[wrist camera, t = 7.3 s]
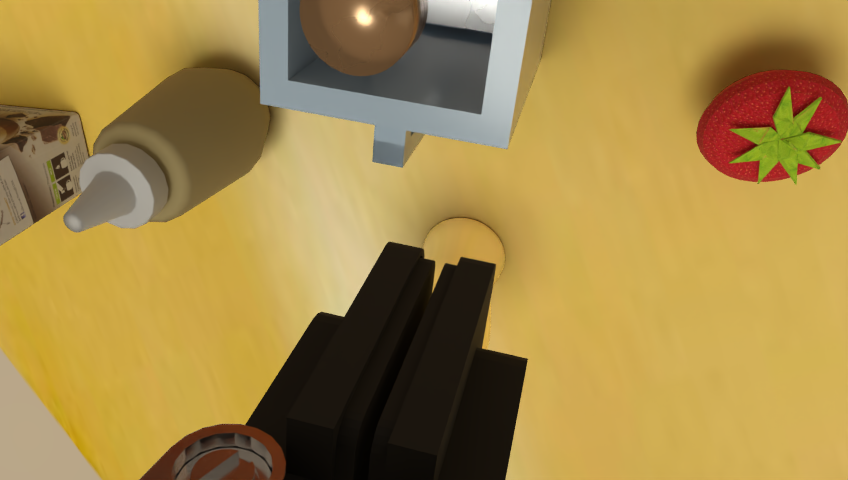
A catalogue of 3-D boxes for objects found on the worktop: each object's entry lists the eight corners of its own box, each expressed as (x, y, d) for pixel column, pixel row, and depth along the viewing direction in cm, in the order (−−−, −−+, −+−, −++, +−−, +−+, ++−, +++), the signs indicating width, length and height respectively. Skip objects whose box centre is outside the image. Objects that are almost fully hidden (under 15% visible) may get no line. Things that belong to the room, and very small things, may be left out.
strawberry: (680, 65, 44) (693, 121, 36) (819, 29, 42) (869, 81, 33) (698, 154, 47) (714, 227, 38) (831, 125, 44) (880, 197, 35)
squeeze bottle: (286, 169, 54) (152, 303, 39) (185, 149, 56) (18, 271, 40) (286, 62, 50) (137, 165, 35) (177, 43, 51) (-12, 134, 36)
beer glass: (404, 223, 54) (335, 345, 41) (492, 201, 52) (449, 323, 39) (438, 301, 57) (383, 438, 44) (524, 283, 54) (492, 423, 41)
